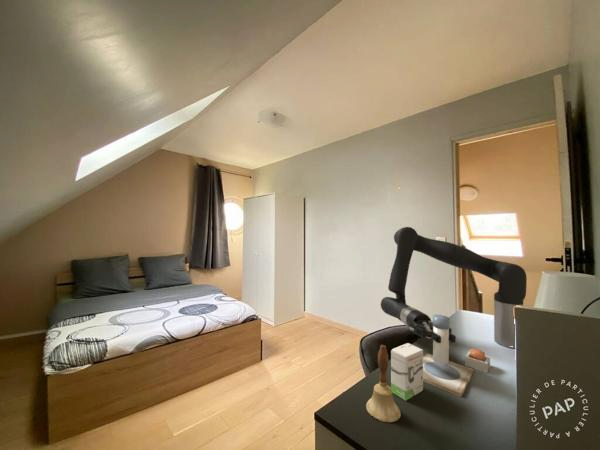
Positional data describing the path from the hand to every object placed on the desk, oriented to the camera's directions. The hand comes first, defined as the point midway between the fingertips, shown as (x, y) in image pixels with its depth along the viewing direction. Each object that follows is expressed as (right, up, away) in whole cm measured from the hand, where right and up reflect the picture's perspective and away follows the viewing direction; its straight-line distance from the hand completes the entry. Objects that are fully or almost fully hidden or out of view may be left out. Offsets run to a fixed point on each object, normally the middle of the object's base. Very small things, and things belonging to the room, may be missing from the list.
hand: (447, 339), depth 75 cm
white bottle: (-1, -8, +2) cm, 8 cm away
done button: (+15, -10, +7) cm, 19 cm away
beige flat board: (0, -12, +2) cm, 12 cm away
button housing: (+15, -12, +7) cm, 21 cm away
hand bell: (-25, -11, -14) cm, 31 cm away
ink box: (-15, -12, -6) cm, 20 cm away
